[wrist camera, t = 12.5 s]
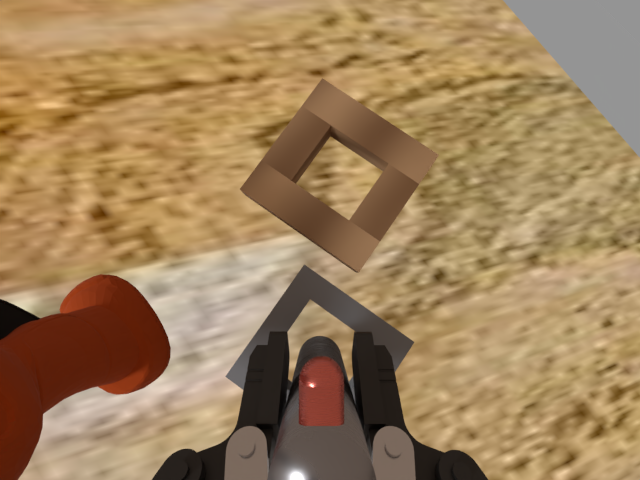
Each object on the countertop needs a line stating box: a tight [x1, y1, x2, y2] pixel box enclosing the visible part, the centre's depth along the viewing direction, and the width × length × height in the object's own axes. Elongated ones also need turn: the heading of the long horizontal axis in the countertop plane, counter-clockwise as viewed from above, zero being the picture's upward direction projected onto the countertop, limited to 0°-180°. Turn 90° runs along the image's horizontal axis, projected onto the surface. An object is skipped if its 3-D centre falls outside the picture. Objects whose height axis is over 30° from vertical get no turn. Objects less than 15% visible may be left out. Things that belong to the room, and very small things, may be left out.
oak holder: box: [240, 78, 439, 273], centre depth 21 cm, size 9×9×2 cm
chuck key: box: [267, 336, 376, 480], centre depth 13 cm, size 5×3×12 cm, turn 0°
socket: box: [225, 265, 414, 402], centre depth 20 cm, size 8×8×2 cm
